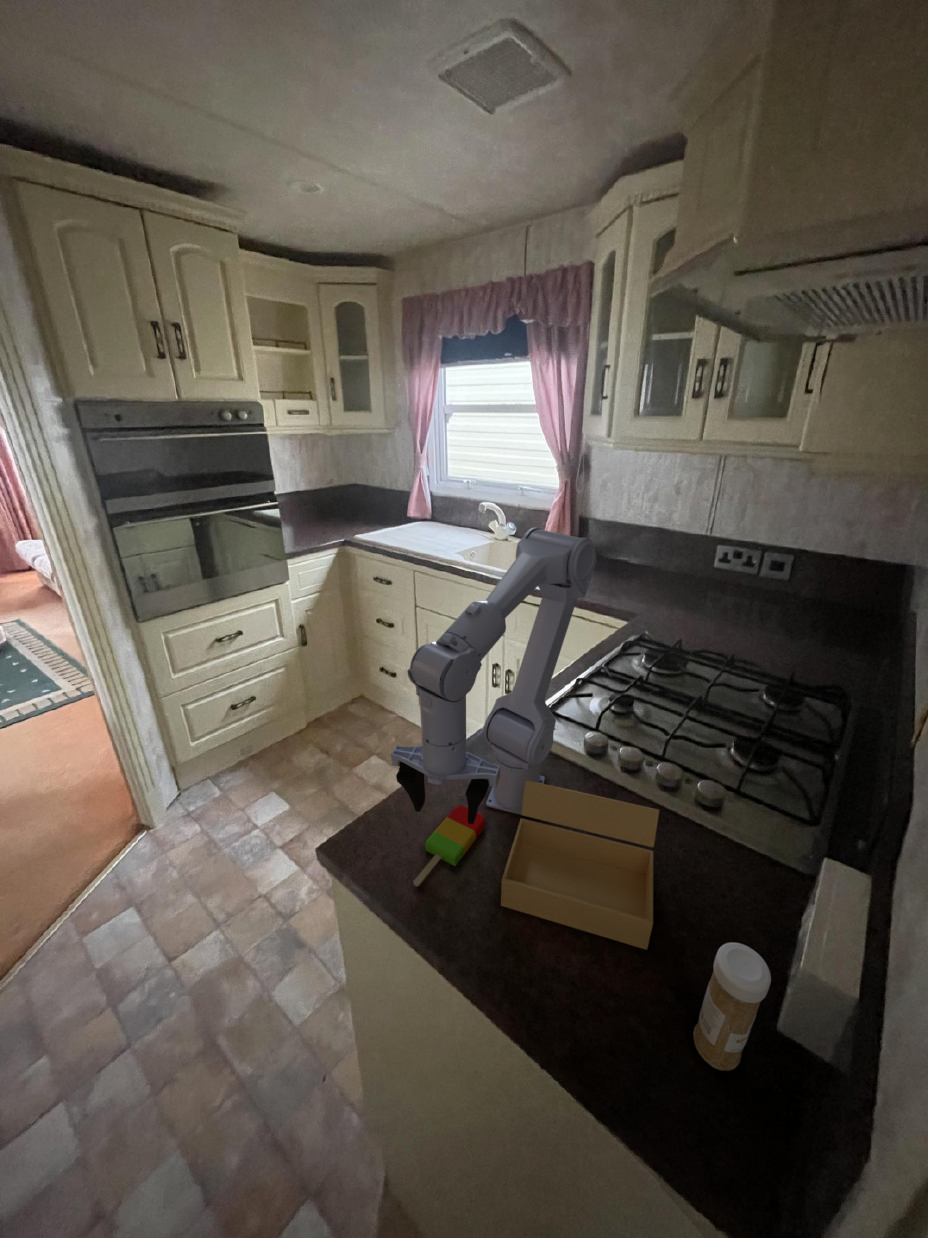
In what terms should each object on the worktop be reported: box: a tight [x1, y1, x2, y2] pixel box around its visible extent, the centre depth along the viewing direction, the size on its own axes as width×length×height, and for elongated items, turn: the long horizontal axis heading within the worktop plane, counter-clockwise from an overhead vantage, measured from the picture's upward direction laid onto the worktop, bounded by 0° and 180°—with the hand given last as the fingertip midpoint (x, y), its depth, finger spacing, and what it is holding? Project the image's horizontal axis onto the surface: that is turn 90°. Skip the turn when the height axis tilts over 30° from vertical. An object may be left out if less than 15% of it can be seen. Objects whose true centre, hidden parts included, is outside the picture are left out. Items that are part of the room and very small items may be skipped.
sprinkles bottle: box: [692, 942, 772, 1072], centre depth 50 cm, size 5×5×14 cm
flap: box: [520, 780, 660, 849], centre depth 71 cm, size 5×18×1 cm
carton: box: [500, 817, 654, 951], centre depth 68 cm, size 11×18×5 cm, turn 71°
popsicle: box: [412, 805, 486, 888], centre depth 75 cm, size 6×15×2 cm, turn 147°
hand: (445, 812), depth 71 cm, fingers open, 7 cm apart
